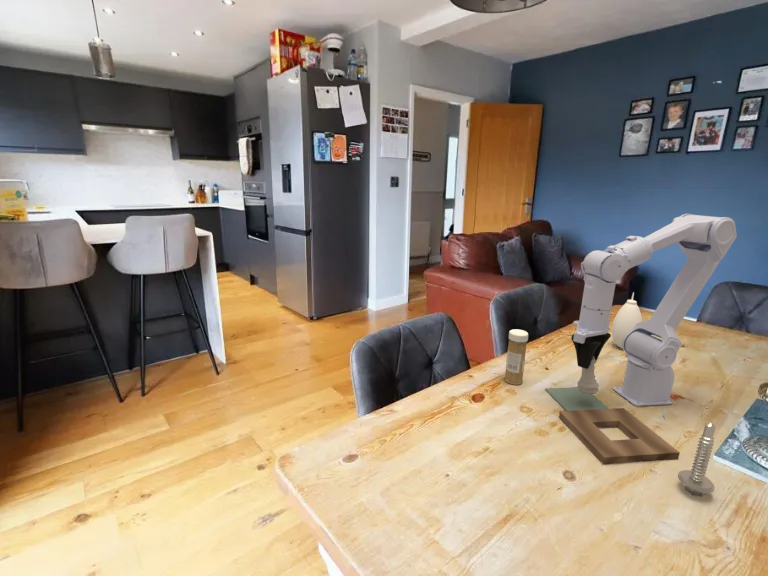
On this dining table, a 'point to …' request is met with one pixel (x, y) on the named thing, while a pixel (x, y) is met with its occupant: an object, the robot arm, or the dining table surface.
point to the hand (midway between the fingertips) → (586, 364)
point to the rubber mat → (575, 399)
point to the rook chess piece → (588, 380)
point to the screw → (700, 465)
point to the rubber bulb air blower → (625, 320)
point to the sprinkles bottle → (516, 356)
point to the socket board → (635, 449)
